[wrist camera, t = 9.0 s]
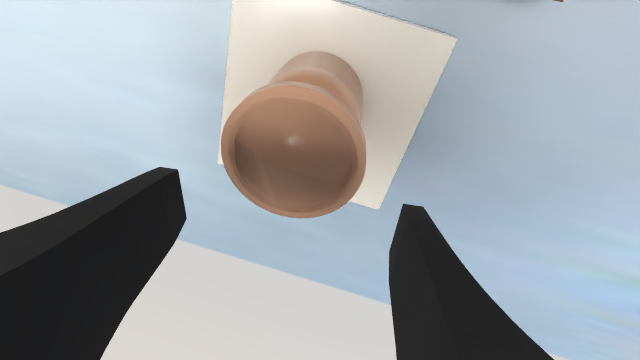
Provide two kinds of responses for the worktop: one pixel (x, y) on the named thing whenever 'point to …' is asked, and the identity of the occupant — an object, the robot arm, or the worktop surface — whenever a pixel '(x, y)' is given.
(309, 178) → the terracotta pot
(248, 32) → the ceramic tile
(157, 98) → the worktop surface
